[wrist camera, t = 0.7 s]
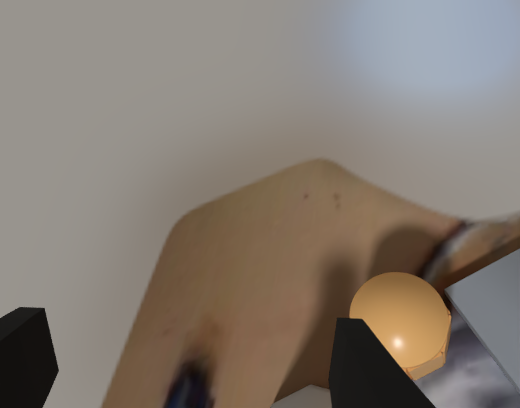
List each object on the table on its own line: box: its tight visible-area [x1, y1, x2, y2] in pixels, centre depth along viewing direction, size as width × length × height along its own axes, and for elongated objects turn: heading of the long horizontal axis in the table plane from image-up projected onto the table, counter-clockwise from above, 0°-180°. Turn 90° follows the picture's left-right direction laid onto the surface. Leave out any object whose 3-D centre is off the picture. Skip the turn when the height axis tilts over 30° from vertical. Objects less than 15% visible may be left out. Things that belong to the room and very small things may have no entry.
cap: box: [350, 272, 451, 381], centre depth 22 cm, size 5×5×5 cm
